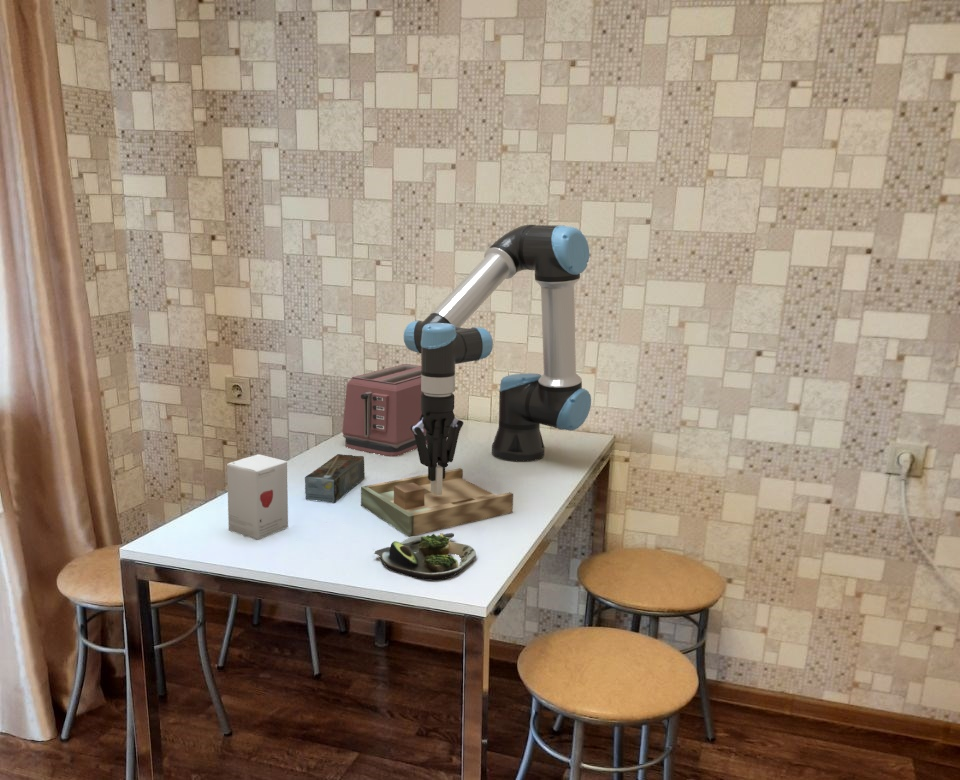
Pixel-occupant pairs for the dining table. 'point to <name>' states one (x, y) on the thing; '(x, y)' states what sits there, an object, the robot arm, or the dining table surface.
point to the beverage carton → (334, 478)
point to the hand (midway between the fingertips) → (436, 492)
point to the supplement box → (257, 496)
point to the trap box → (435, 504)
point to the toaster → (383, 410)
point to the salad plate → (427, 556)
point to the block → (409, 496)
